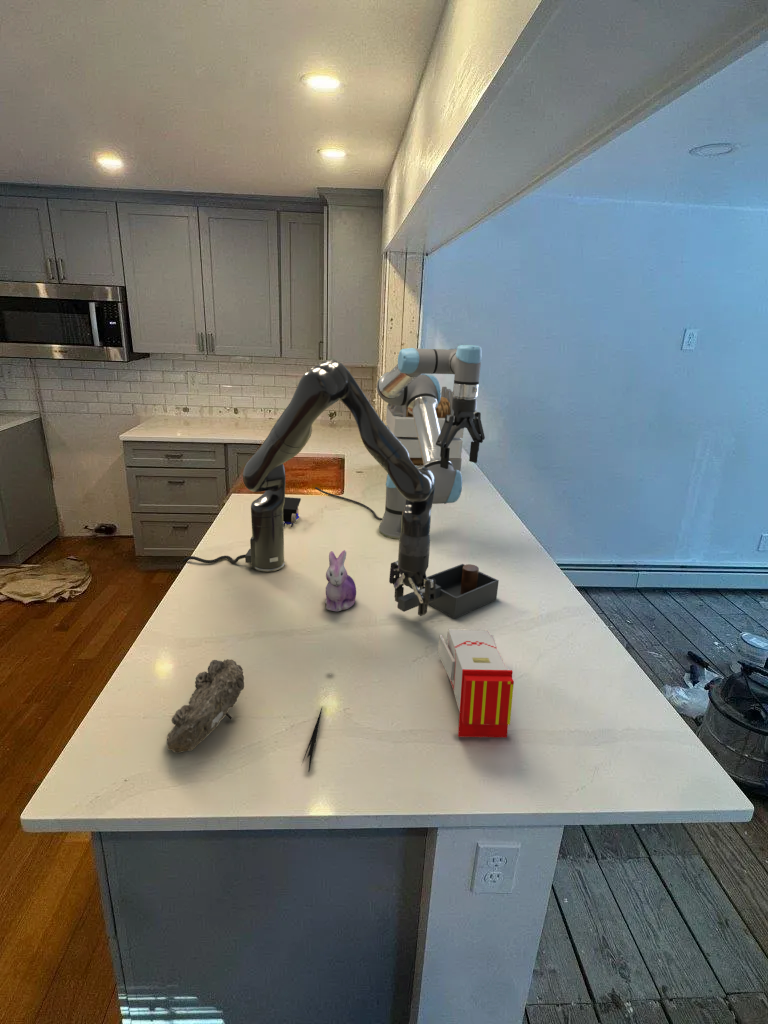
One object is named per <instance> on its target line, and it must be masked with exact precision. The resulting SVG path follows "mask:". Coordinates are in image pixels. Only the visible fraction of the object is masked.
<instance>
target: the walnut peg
mask: <svg viewBox="0 0 768 1024" xmlns="http://www.w3.org/2000/svg"><path fill="white" fill-rule="evenodd" d="M478 572H480V568H479V566H477V565H476V564H471V563H468V564H464V566H463V570H462V580H461V590H460V593H461V595H462V594H464V593H467V592H469V591H471V590H474V589H476V588H477V582H478Z"/></svg>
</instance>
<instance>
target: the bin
mask: <svg viewBox="0 0 768 1024" xmlns="http://www.w3.org/2000/svg"><path fill="white" fill-rule="evenodd" d="M464 565H465V564H464V563H460V564H459V565H458V564H457V565H455V566H452V567H450V568H448V569H444V570H442V571H439V572H437V573H433V574H431V575H429V576H426V577H427V578H429V579H433V578H434V579H435V580H436V588H435V601H433V602H431V603H428V605H429V606H431V607H432V608H434V609H436V610H437V611H440V612H441V613H443V614H445V615H447V616H448V617H450V618H452V619H454V620H455V619H457V618H459V617H462V616H464V615H465V614H469V613H470V612H472V611H475V610H477V609H479V608H481V607H484V606H485V605H488V604H490V603H492V602H495V601H497V598H498V597H497V596H498V589H499V579H496V578H495V577H493V576H490V575H488V574H486V573H484V572H481V571H479V572H478V582H477V588H476V589H474V590H471V591H469V592H467V593H464V594H462V595H461V593H460V590H461V580H462V570H463V566H464ZM418 590H422V586H421V587H420V588H418ZM421 594H422V597H424V595H423V593H421ZM419 602H420V601H419V599H418V596H417V595H415V593H414V591H412V592H409V593H406V594H403V596H401V597H398V602H397V609H398V610H400V611H402V612H403V613H405V612H407V611H410V610H412V609H414V608H417V607H418V606H419Z"/></svg>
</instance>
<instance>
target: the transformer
mask: <svg viewBox="0 0 768 1024" xmlns="http://www.w3.org/2000/svg"><path fill="white" fill-rule="evenodd" d="M440 393H441V399H440V402H439V404H438V406H437V408H436V409H435V411H436V415H437V419H438V424H439V428H440V432H441V429H442V427H443V425H444V422H445V416H446V415H452V416H453V413H454V411H453V410H452V400H453V398H454V397H455V396H453V390H452V389H451V388H447V386H442V387H441V391H440ZM385 414H386V415H385V423H386V426H387V428H388V429H389V430H390V431H391V432H392V433H393V434H394V436H395V437H396V438H397V439H398V440H399V441H400V442H401V443H402V444H403V445H402V446H404V447H405V448H406V449H407V451H408V452H409V458H410V460H411V461H412V463H413V464H414V465H415V466H416V467H423V466H424V465H423V460H422V455H421V451H420V446H419V441H418V436H417V432H416V427H415V422H414V417H413V415H412V414H411V413H409V411H408V408H407V406H396V405H392V404H389V403H387V405H386V413H385ZM464 429H465V428H463V429H460V430H459V431H458V432H457V433H456V435H455V436H454V438H453V440H452V441H451V443H450V445H449V446H448V448H450V453H449V461H450V462H451V463H452V465H453V469H454V470H456V469H457V470H459V471H460V472H462V461H463V460H462V453H463V442H464V441H463V440H462V439H463V438H464V431H465V430H464ZM445 444H446V443H445Z"/></svg>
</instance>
